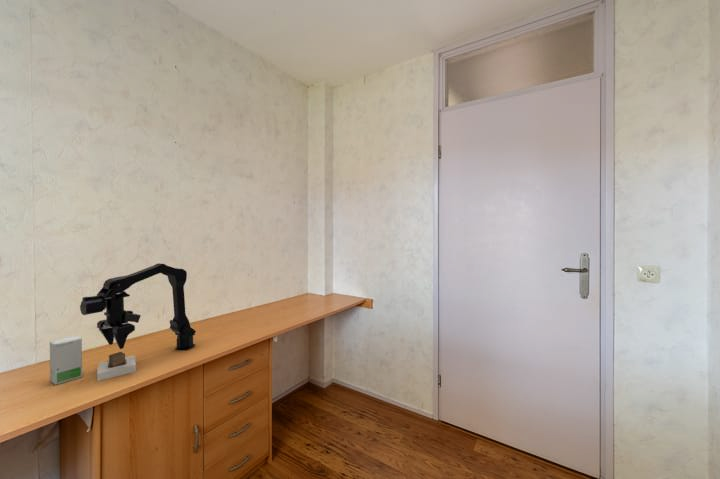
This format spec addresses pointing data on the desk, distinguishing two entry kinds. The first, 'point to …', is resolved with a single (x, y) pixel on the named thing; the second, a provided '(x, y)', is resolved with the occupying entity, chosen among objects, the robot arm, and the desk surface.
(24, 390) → the desk surface
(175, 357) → the desk surface
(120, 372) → the socket
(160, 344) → the desk surface
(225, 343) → the desk surface
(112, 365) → the peg
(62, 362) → the skincare box
